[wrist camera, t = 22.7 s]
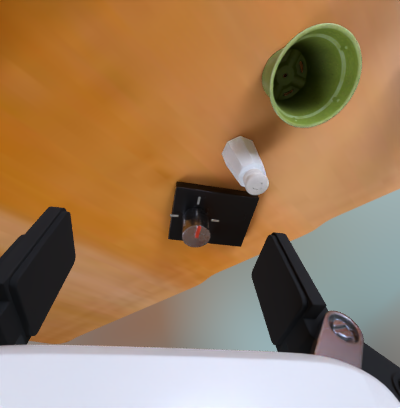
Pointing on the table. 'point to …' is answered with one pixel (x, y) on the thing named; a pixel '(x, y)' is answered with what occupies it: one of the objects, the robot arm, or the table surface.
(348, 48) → the plant pot
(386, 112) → the table surface
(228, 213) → the black knob panel
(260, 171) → the pepper shaker
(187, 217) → the hob knob
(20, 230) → the table surface
